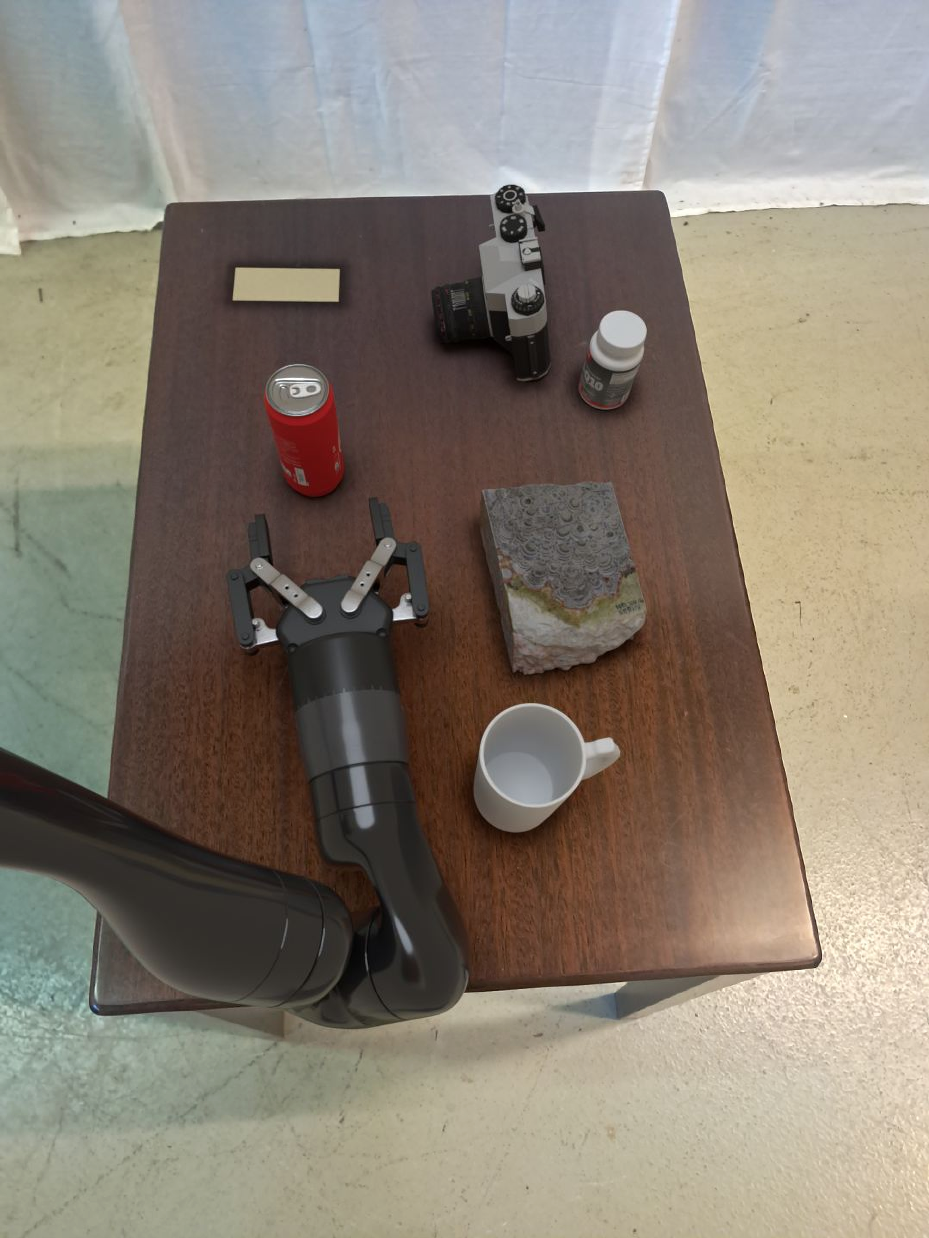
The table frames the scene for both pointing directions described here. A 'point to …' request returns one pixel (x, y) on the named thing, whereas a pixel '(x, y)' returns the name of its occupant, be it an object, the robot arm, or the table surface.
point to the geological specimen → (560, 573)
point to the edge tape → (286, 285)
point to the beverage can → (305, 429)
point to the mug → (533, 765)
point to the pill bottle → (613, 360)
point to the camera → (503, 289)
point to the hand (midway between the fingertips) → (317, 510)
